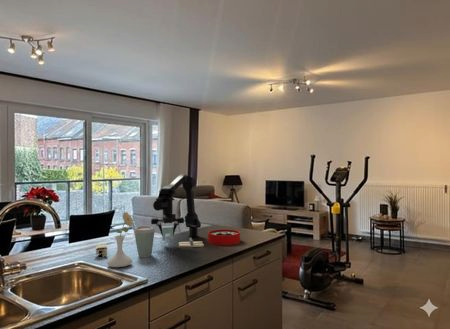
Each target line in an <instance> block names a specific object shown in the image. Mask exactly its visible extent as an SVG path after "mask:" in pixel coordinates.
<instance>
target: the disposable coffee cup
mask: <svg viewBox="0 0 450 329" xmlns="http://www.w3.org/2000/svg"><path fill="white" fill-rule="evenodd" d="M155 232H156V230H155V228H154V227H153V226H151V225H140V226H136V227H134V230H133V233H134V237H135V238H134V239H135V243H136V249H137V254H138V258H149V257H151V256H152V253H153V246H154V238H155Z"/></svg>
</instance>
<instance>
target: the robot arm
mask: <svg viewBox="0 0 450 329" xmlns="http://www.w3.org/2000/svg"><path fill="white" fill-rule="evenodd" d="M181 185H182V188H183V190H184V191H185V197H186V198H185V200H186V210H187V213H186V215H184V217H183V216H180V217H179V216H176V213H173V212H174V210H173V201H175V198H173V197H174V196H175V194H176V190H177V189H179V187H180V186H181ZM195 188H196V179H195V178H194V177H193V176H192V177H191V176H188V175H187V174H179V175H177V177H176V178H174V180H173V181H172V182H170V183H169V184H167V185H165V186H162V187H161V189H160V192H159V194H158V196H157V198H156V199H155V201H154V202H153V204H152V207H153V209H154V210H155V211H158V212H159V211H162V219H161V218H160V219H159V218H158V217H152V218H151V220H150V223H151V225H156V226H157V227H158V229H159V232H160V234H161V236H163V232H162V226H163V225H162V223H164V224H173V225H172V226H173V236H174V235H175V232H176V229H177V227H178V226H179V225H180V224H184V223H185V227H186V228H188V232H189V233H188V235H187V236H188V238H199V237H200V236H199V234H198V233H199V228H201V227H202V223H201V222H200V220H199V217H198V214H197V213H196V209H195V208H196V207H195V198H194V197H195V196H194V191H195Z"/></svg>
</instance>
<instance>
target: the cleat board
mask: <svg viewBox="0 0 450 329" xmlns="http://www.w3.org/2000/svg"><path fill="white" fill-rule="evenodd" d="M192 238H193V237H188V239H189V241H179V242H178V245H179V246H178V247H179V248H181V249H182V248H195V247H201V248H202V247H205V244H204V243H203V241H202V240H198V241H197V240H196V241H194V240H193V239H192Z"/></svg>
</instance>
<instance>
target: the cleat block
mask: <svg viewBox="0 0 450 329" xmlns="http://www.w3.org/2000/svg"><path fill="white" fill-rule="evenodd" d="M173 226H174V225H162V232H163V236H162V235H161V236H162V241H166V234H169V240H170V241H173V240H174V235H173Z"/></svg>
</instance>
